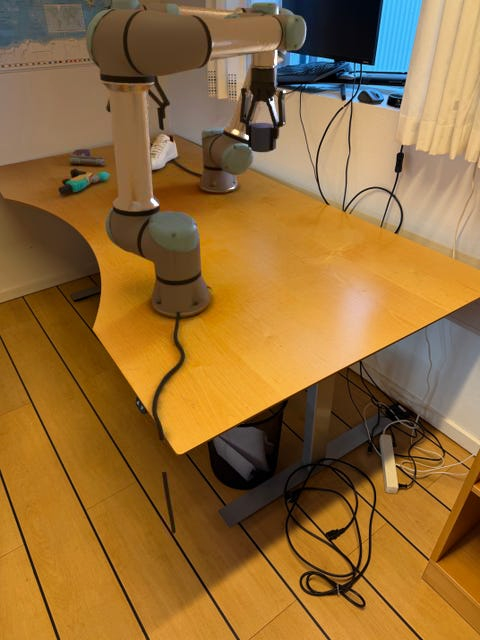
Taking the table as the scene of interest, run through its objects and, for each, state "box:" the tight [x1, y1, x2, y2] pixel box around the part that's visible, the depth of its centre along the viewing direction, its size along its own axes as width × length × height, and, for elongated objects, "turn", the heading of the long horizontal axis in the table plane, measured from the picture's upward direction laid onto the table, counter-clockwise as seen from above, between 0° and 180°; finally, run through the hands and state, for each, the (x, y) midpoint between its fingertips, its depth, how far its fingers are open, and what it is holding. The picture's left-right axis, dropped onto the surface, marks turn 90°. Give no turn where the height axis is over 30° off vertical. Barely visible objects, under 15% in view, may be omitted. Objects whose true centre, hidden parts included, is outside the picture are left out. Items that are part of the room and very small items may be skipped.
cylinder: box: [251, 122, 274, 153], centre depth 149 cm, size 7×7×7 cm
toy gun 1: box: [67, 148, 106, 167], centre depth 221 cm, size 4×19×15 cm
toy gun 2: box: [58, 168, 111, 196], centre depth 194 cm, size 4×26×15 cm
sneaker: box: [151, 133, 179, 171], centre depth 214 cm, size 10×29×12 cm, turn 163°
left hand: (261, 147), depth 151 cm, fingers closed on cylinder, 7 cm apart
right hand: (141, 131), depth 156 cm, fingers open, 13 cm apart
